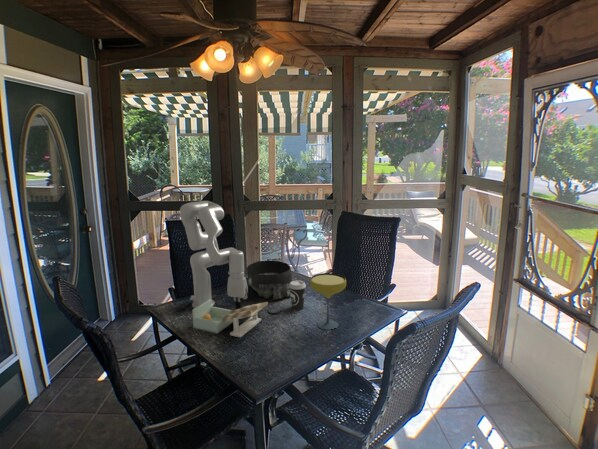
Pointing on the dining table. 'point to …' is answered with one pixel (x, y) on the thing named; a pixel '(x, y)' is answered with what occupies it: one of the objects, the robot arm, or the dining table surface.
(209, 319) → the orange ball
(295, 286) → the coffee cup
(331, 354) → the dining table surface
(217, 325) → the bin
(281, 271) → the basket
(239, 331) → the stand
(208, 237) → the robot arm
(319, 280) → the cocktail glass
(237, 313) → the beige flat panel
